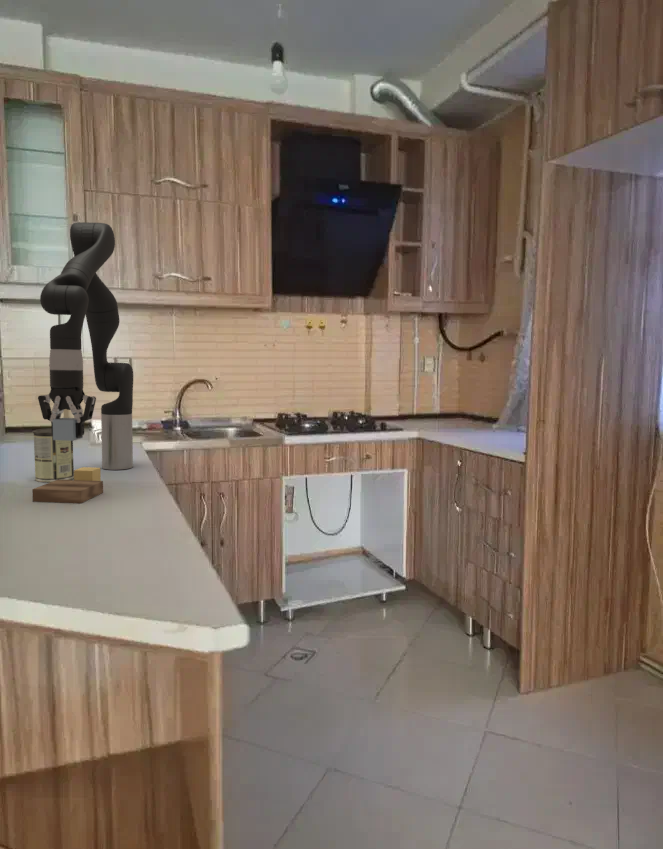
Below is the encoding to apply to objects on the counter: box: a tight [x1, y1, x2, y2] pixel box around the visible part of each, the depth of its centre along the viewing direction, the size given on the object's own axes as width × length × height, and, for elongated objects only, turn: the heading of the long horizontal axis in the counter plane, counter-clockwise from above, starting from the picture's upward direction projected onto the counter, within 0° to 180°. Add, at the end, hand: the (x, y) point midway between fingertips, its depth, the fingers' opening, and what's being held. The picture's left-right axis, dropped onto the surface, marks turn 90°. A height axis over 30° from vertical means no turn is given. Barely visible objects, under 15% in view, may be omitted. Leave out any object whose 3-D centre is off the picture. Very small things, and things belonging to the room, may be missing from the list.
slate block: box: [53, 417, 84, 442], centre depth 149 cm, size 5×5×5 cm
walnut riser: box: [31, 479, 104, 504], centre depth 150 cm, size 12×12×3 cm
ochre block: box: [73, 466, 102, 481], centre depth 162 cm, size 5×5×5 cm
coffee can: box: [32, 427, 75, 483], centre depth 172 cm, size 10×10×14 cm
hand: (68, 437), depth 149 cm, fingers closed on slate block, 5 cm apart
